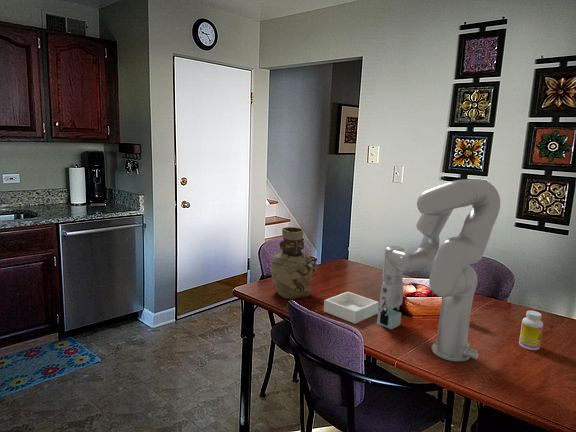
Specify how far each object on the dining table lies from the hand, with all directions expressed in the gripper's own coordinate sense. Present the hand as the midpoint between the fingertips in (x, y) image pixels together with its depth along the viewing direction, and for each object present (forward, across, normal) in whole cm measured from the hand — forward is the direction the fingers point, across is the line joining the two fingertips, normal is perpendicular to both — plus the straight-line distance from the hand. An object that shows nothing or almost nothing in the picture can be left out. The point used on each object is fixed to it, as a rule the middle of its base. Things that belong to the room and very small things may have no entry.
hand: (388, 321), depth 171 cm
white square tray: (+1, -2, +17) cm, 17 cm away
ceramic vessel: (+2, -5, +49) cm, 49 cm away
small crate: (+1, 0, 0) cm, 1 cm away
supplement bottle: (+1, +23, -44) cm, 50 cm away
